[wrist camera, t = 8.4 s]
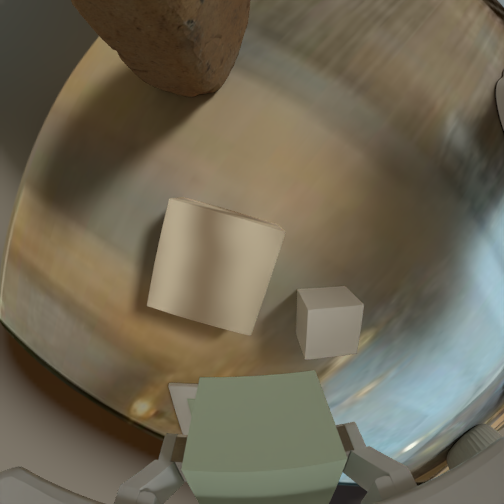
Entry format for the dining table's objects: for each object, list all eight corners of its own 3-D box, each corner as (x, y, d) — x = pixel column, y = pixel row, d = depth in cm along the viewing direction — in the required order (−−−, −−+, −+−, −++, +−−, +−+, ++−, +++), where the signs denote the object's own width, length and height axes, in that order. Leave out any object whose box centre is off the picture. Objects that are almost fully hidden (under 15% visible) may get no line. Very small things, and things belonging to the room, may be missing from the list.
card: (254, 383, 29) (254, 387, 28) (256, 434, 31) (256, 438, 30) (169, 382, 28) (167, 386, 28) (184, 433, 31) (183, 437, 30)
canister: (478, 409, 34) (524, 464, 14) (497, 415, 37) (534, 457, 16) (424, 464, 37) (455, 523, 17) (452, 462, 40) (481, 508, 19)
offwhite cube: (344, 285, 26) (364, 304, 22) (340, 329, 28) (356, 353, 23) (297, 288, 26) (307, 309, 21) (295, 333, 27) (304, 359, 23)
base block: (277, 224, 25) (285, 232, 20) (249, 311, 27) (250, 335, 22) (183, 197, 24) (169, 198, 19) (162, 286, 26) (146, 305, 21)
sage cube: (314, 370, 11) (347, 458, 6) (307, 437, 12) (325, 510, 7) (199, 377, 11) (181, 469, 6) (214, 443, 12) (208, 518, 7)
